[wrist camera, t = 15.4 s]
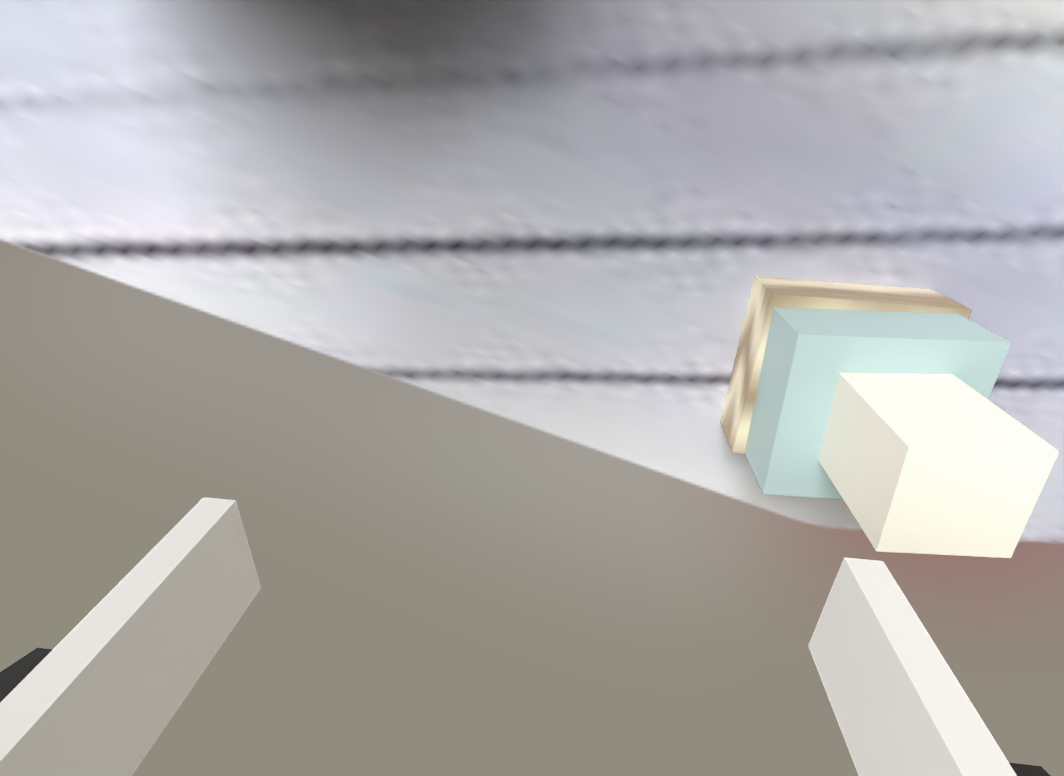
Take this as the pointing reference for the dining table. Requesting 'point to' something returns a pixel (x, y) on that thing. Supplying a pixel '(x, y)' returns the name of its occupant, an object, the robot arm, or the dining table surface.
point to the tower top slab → (853, 347)
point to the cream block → (932, 464)
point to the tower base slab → (805, 296)
